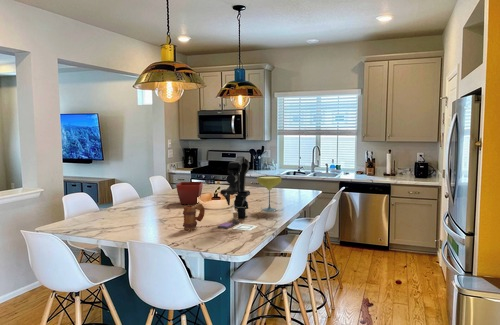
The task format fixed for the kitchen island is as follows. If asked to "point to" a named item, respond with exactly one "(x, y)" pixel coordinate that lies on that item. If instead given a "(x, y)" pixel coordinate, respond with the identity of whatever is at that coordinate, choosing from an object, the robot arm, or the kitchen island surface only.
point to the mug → (192, 216)
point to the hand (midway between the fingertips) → (235, 205)
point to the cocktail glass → (269, 185)
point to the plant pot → (189, 192)
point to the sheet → (245, 227)
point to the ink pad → (226, 225)
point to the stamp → (235, 218)
